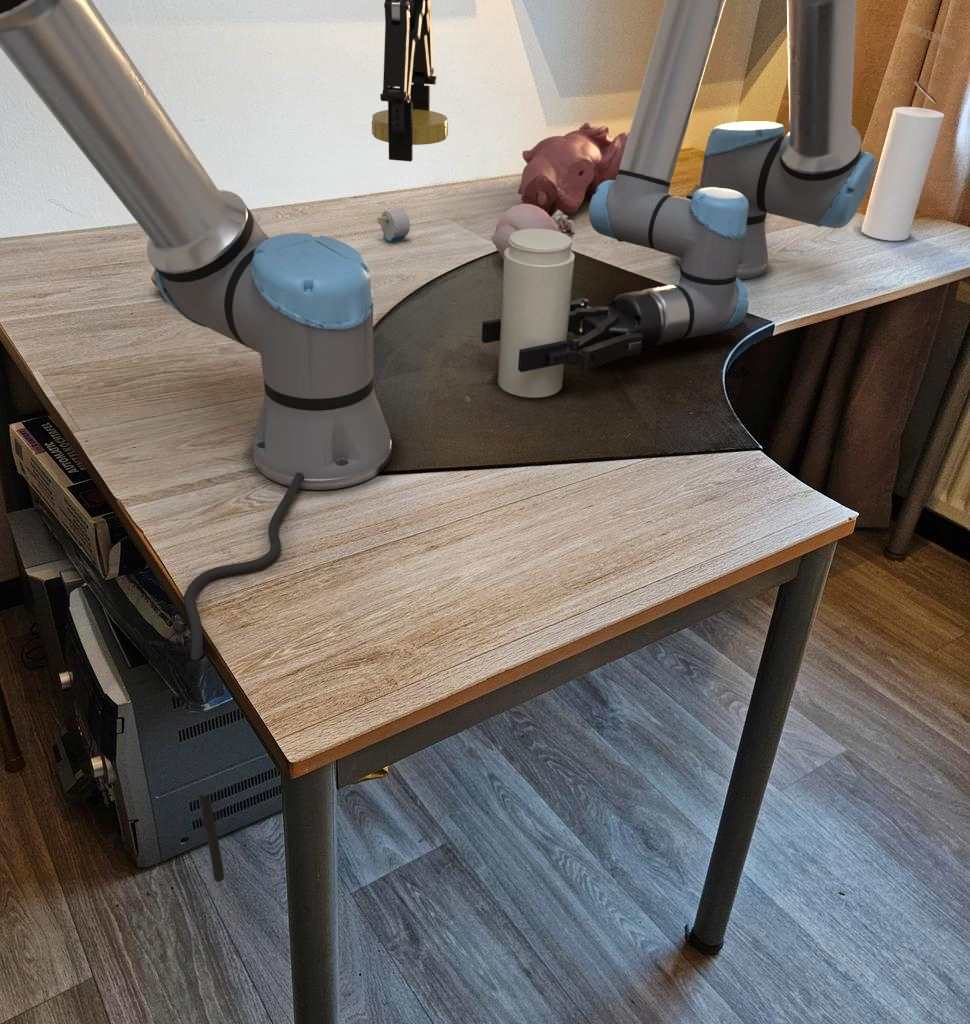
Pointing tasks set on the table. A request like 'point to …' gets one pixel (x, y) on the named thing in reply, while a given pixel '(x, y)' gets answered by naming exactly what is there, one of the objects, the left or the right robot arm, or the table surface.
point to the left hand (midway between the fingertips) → (409, 149)
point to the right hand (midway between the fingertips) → (501, 346)
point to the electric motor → (394, 225)
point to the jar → (534, 307)
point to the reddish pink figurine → (570, 167)
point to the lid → (414, 126)
